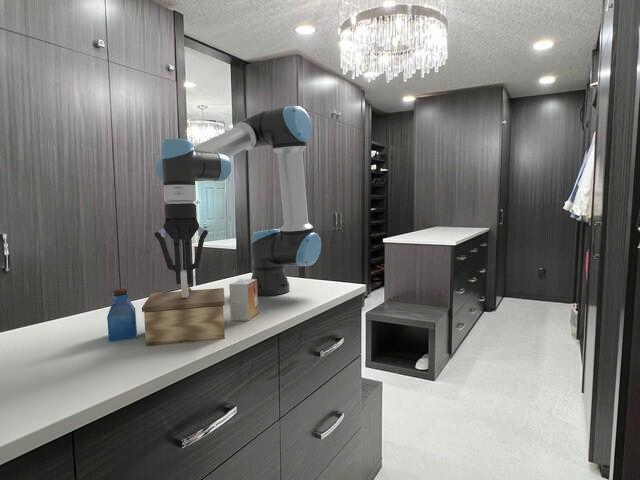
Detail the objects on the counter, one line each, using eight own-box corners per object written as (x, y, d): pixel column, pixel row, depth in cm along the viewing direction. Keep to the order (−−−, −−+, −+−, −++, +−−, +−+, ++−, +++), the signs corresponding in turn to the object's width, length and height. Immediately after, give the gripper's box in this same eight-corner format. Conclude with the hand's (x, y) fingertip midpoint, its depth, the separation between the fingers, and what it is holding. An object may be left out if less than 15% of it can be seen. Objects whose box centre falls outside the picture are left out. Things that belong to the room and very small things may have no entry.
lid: (224, 291, 114) (223, 285, 114) (224, 305, 101) (224, 297, 100) (151, 296, 110) (151, 290, 110) (142, 311, 96) (141, 304, 96)
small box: (249, 321, 116) (247, 284, 115) (230, 320, 117) (228, 283, 116) (259, 313, 123) (257, 278, 122) (241, 313, 125) (239, 278, 124)
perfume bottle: (110, 334, 107) (107, 289, 106) (136, 331, 109) (133, 286, 108) (108, 341, 101) (105, 293, 100) (136, 338, 103) (133, 290, 102)
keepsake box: (224, 322, 115) (222, 294, 114) (224, 338, 101) (223, 306, 101) (155, 329, 111) (153, 299, 110) (146, 346, 97) (143, 312, 96)
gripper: (149, 203, 97) (155, 301, 99) (207, 202, 100) (211, 297, 102) (154, 203, 105) (160, 295, 107) (207, 202, 108) (212, 291, 110)
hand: (185, 296), depth 105 cm, fingers closed
